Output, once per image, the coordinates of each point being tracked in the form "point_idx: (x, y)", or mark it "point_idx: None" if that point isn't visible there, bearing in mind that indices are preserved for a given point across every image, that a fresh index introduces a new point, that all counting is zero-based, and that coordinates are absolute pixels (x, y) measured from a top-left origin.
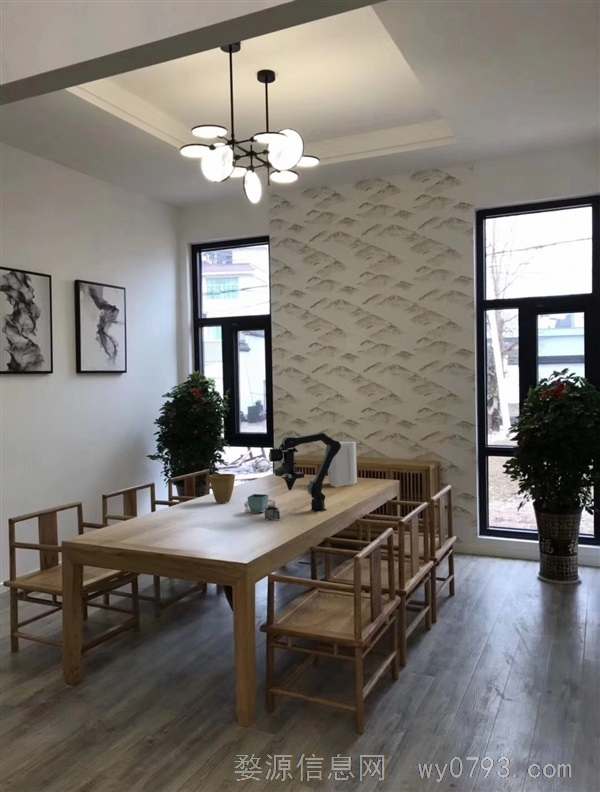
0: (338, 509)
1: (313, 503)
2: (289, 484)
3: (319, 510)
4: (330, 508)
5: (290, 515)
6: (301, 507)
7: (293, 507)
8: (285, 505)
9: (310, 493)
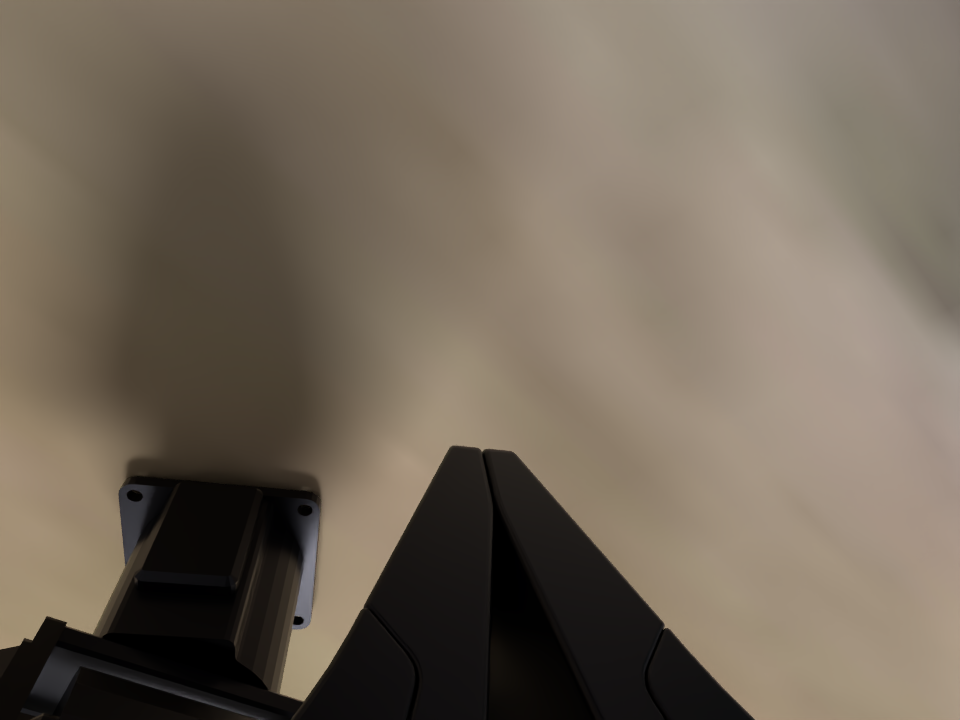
0: None
1: (164, 565)
2: (378, 615)
3: (142, 526)
4: None
5: (276, 17)
6: None
7: (690, 499)
8: (878, 522)
9: (95, 712)
